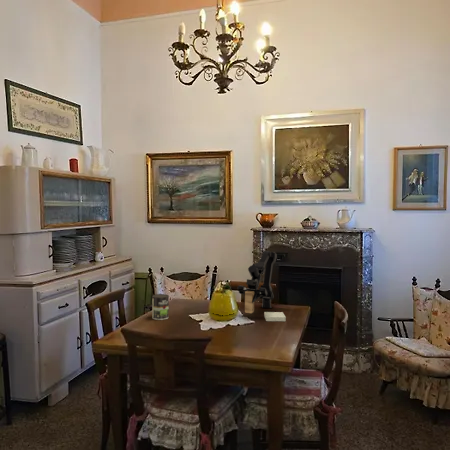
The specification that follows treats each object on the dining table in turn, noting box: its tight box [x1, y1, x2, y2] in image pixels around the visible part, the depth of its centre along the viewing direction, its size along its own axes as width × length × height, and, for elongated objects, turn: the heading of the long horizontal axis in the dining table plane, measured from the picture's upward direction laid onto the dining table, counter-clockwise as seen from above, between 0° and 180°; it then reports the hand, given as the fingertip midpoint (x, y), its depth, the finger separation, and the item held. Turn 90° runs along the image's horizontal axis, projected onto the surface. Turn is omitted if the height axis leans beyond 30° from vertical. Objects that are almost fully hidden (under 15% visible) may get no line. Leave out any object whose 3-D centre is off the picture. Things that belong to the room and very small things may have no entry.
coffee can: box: [151, 293, 170, 321], centre depth 270 cm, size 10×10×14 cm
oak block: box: [244, 291, 255, 314], centre depth 270 cm, size 4×4×13 cm
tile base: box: [263, 311, 287, 322], centre depth 272 cm, size 12×12×2 cm
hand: (248, 302), depth 268 cm, fingers closed on oak block, 4 cm apart
